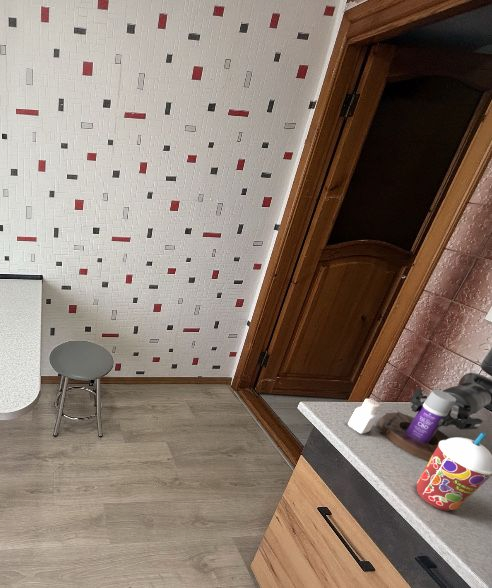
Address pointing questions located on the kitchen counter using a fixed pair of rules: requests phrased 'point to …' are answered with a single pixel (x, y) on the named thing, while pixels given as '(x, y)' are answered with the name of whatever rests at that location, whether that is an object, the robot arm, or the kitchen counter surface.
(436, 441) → the collar
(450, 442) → the smoothie
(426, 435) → the container
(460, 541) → the kitchen counter surface
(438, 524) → the kitchen counter surface
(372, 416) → the pepper shaker
